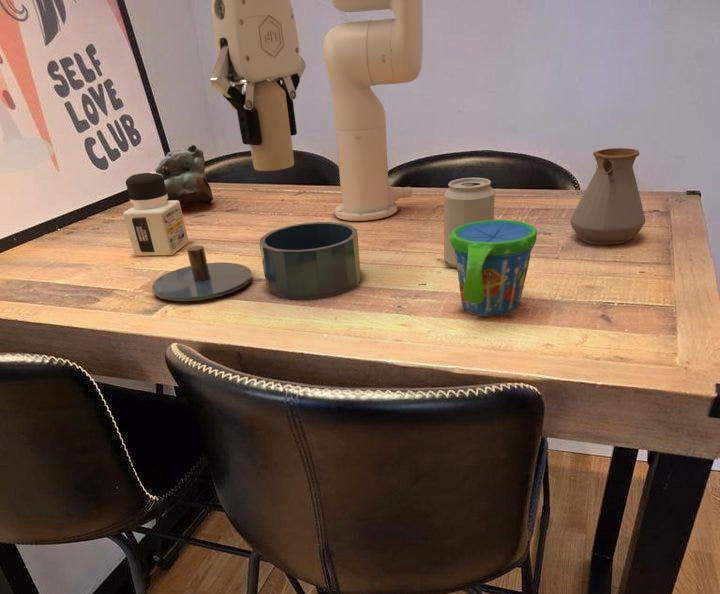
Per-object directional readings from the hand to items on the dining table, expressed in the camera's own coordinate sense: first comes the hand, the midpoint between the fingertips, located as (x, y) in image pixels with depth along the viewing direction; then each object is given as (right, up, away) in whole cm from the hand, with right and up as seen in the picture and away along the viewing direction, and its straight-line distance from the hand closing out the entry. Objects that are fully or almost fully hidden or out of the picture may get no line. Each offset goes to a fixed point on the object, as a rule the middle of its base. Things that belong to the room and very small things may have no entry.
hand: (270, 137), depth 85 cm
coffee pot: (+50, -8, +18) cm, 54 cm away
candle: (0, -3, +2) cm, 4 cm away
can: (+29, -11, +17) cm, 35 cm away
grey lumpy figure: (-28, +17, +62) cm, 71 cm away
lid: (-13, -14, +18) cm, 26 cm away
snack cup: (+29, -22, +2) cm, 37 cm away
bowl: (+5, -14, +16) cm, 22 cm away
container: (-25, -2, +37) cm, 44 cm away
